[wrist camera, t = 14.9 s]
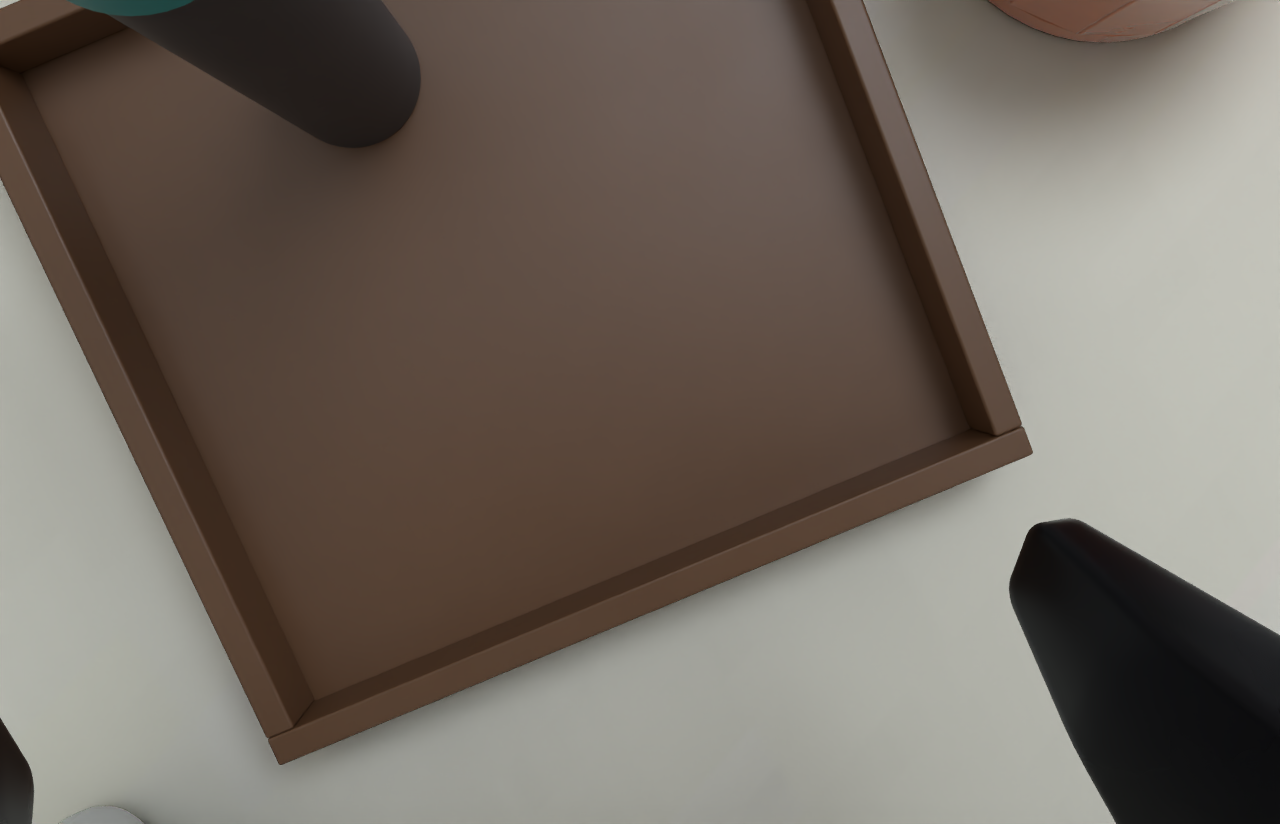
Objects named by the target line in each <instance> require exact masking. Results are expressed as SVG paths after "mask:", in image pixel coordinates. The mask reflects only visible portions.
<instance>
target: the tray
mask: <svg viewBox="0 0 1280 824" xmlns="http://www.w3.org/2000/svg"><path fill="white" fill-rule="evenodd" d="M382 2H383V3H384V4H385V6H386V7H387V9H388V10H389V11H390V13H391V14H392V15H393V17H394V18H395V19H396V21H397V22H398V24H399V25H400V26H401V28H402V29H403V30H404V32H405V33H406V35H407V36H408V38H409V39H410V41H411V43H412V44H413V46H414V48H415V51H416V54H417V57H418V61H419V65H420V74H421V83H420V91H419V96H418V99H417V103H416V105H415V107H414V110H413V112H412V114H411V115H410V117H409V118H408V120H407V121H406V122H405V123H404V125H403V126H402V127H401V128H400V129H399V130H398V131H397V132H396V133H394V134H393V135H391V136H390V137H389V138H387V139H385V140H383V141H381V142H379V143H376V144H373V145H370V146H365V147H358V148H347V147H339V146H335V145H331V144H329V143H326V142H324V141H321V140H319V139H317V138H316V137H314V136H312V135H311V134H309V133H307V132H306V131H304V130H302V129H300V128H299V127H297V126H295V125H294V124H292V123H290V122H289V121H287V120H285V119H284V118H282V117H280V116H278V115H277V114H275V113H273V112H272V111H270V110H268V109H267V108H265V107H263V106H262V105H260V104H258V103H256V102H255V101H253V100H251V99H250V98H248V97H246V96H245V95H243V94H241V93H240V92H238V91H236V90H234V89H233V88H231V87H229V86H228V85H226V84H224V83H223V82H221V81H219V80H218V79H216V78H214V77H212V76H211V75H209V74H207V73H206V72H204V71H202V70H201V69H199V68H197V67H196V66H194V65H192V64H190V63H189V62H187V61H185V60H184V59H182V58H180V57H179V56H177V55H175V54H174V53H172V52H170V51H168V50H167V49H165V48H163V47H162V46H160V45H158V44H157V43H155V42H153V41H152V40H150V39H148V38H146V37H145V36H143V35H141V34H140V33H138V32H136V31H135V30H133V29H131V28H130V27H128V26H126V25H124V24H123V23H121V22H119V21H118V20H116V19H114V18H113V17H111V16H109V15H108V14H105V13H100V12H96V11H92V10H89V9H86V8H83V7H80V6H77V5H75V4H73V3H71V2H69V1H67V0H20V1H17V2H15V3H13V4H10V5H8V6H6V7H3V8H1V9H0V178H1V180H2V182H3V184H4V187H5V189H6V191H7V193H8V195H9V197H10V199H11V201H12V203H13V205H14V208H15V210H16V212H17V214H18V216H19V218H20V220H21V222H22V224H23V226H24V229H25V231H26V233H27V235H28V237H29V239H30V241H31V243H32V245H33V247H34V250H35V252H36V254H37V256H38V258H39V260H40V262H41V264H42V266H43V269H44V271H45V273H46V275H47V277H48V279H49V281H50V283H51V285H52V287H53V290H54V292H55V294H56V296H57V298H58V300H59V302H60V304H61V306H62V308H63V311H64V313H65V315H66V317H67V319H68V321H69V323H70V325H71V327H72V329H73V332H74V334H75V336H76V338H77V340H78V342H79V344H80V346H81V348H82V351H83V353H84V355H85V357H86V359H87V361H88V363H89V365H90V367H91V369H92V372H93V374H94V376H95V378H96V380H97V382H98V384H99V386H100V388H101V390H102V393H103V395H104V397H105V399H106V401H107V403H108V405H109V407H110V409H111V411H112V414H113V416H114V418H115V420H116V422H117V424H118V426H119V428H120V430H121V433H122V435H123V437H124V439H125V441H126V443H127V445H128V447H129V449H130V451H131V454H132V456H133V458H134V460H135V462H136V464H137V466H138V468H139V470H140V472H141V475H142V477H143V479H144V481H145V483H146V485H147V487H148V489H149V491H150V493H151V496H152V498H153V500H154V502H155V504H156V506H157V508H158V510H159V512H160V514H161V517H162V519H163V521H164V523H165V525H166V527H167V529H168V531H169V533H170V536H171V538H172V540H173V542H174V544H175V546H176V548H177V550H178V552H179V554H180V557H181V559H182V561H183V563H184V565H185V567H186V569H187V571H188V573H189V575H190V578H191V580H192V582H193V584H194V586H195V588H196V590H197V592H198V594H199V596H200V599H201V601H202V603H203V605H204V607H205V609H206V611H207V613H208V615H209V618H210V620H211V622H212V624H213V626H214V628H215V630H216V632H217V634H218V636H219V639H220V641H221V643H222V645H223V647H224V649H225V651H226V653H227V655H228V657H229V660H230V662H231V664H232V666H233V668H234V670H235V672H236V674H237V676H238V678H239V681H240V683H241V685H242V687H243V689H244V691H245V693H246V695H247V697H248V700H249V702H250V704H251V706H252V708H253V710H254V712H255V714H256V716H257V718H258V721H259V723H260V725H261V727H262V729H263V731H264V733H265V735H266V737H267V738H269V739H268V742H269V744H270V746H271V748H272V750H273V753H274V755H275V757H276V759H277V761H278V763H279V764H280V765H283V764H285V763H287V762H290V761H292V760H295V759H297V758H300V757H302V756H304V755H307V754H309V753H312V752H314V751H316V750H319V749H321V748H324V747H326V746H329V745H331V744H333V743H336V742H338V741H341V740H343V739H345V738H348V737H350V736H353V735H355V734H357V733H360V732H362V731H365V730H367V729H370V728H372V727H374V726H377V725H379V724H382V723H384V722H386V721H389V720H391V719H394V718H396V717H399V716H401V715H403V714H406V713H408V712H411V711H413V710H415V709H418V708H420V707H423V706H425V705H428V704H430V703H432V702H435V701H437V700H440V699H442V698H444V697H447V696H449V695H452V694H454V693H457V692H459V691H461V690H464V689H466V688H469V687H471V686H473V685H476V684H478V683H481V682H483V681H486V680H488V679H490V678H493V677H495V676H498V675H500V674H502V673H505V672H507V671H510V670H512V669H515V668H517V667H519V666H522V665H524V664H527V663H529V662H531V661H534V660H536V659H539V658H541V657H544V656H546V655H548V654H551V653H553V652H556V651H558V650H560V649H563V648H565V647H568V646H570V645H573V644H575V643H577V642H580V641H582V640H585V639H587V638H589V637H592V636H594V635H597V634H599V633H601V632H604V631H606V630H609V629H611V628H614V627H616V626H618V625H621V624H623V623H626V622H628V621H630V620H633V619H635V618H638V617H640V616H643V615H645V614H647V613H650V612H652V611H655V610H657V609H659V608H662V607H664V606H667V605H669V604H672V603H674V602H676V601H679V600H681V599H684V598H686V597H688V596H691V595H693V594H696V593H698V592H701V591H703V590H705V589H708V588H710V587H713V586H715V585H717V584H720V583H722V582H725V581H727V580H730V579H732V578H734V577H737V576H739V575H742V574H744V573H746V572H749V571H751V570H754V569H756V568H759V567H761V566H763V565H766V564H768V563H771V562H773V561H775V560H778V559H780V558H783V557H785V556H788V555H790V554H792V553H795V552H797V551H800V550H802V549H804V548H807V547H809V546H812V545H814V544H817V543H819V542H821V541H824V540H826V539H829V538H831V537H833V536H836V535H838V534H841V533H843V532H846V531H848V530H850V529H853V528H855V527H858V526H860V525H862V524H865V523H867V522H870V521H872V520H874V519H877V518H879V517H882V516H884V515H887V514H889V513H891V512H894V511H896V510H899V509H901V508H903V507H906V506H908V505H911V504H913V503H916V502H918V501H920V500H923V499H925V498H928V497H930V496H932V495H935V494H937V493H940V492H942V491H945V490H947V489H949V488H952V487H954V486H957V485H959V484H961V483H964V482H966V481H969V480H971V479H974V478H976V477H978V476H981V475H983V474H986V473H988V472H990V471H993V470H995V469H998V468H1000V467H1003V466H1005V465H1007V464H1010V463H1012V462H1015V461H1017V460H1019V459H1022V458H1024V457H1027V456H1029V455H1031V454H1032V453H1033V451H1032V448H1031V445H1030V443H1029V440H1028V437H1027V435H1026V432H1025V429H1024V428H1023V427H1021V425H1022V424H1021V420H1020V417H1019V415H1018V412H1017V409H1016V407H1015V404H1014V401H1013V399H1012V396H1011V393H1010V391H1009V388H1008V385H1007V383H1006V380H1005V377H1004V375H1003V372H1002V369H1001V367H1000V364H999V361H998V359H997V356H996V353H995V351H994V348H993V345H992V343H991V340H990V337H989V335H988V332H987V329H986V327H985V324H984V321H983V319H982V316H981V314H980V311H979V308H978V306H977V303H976V300H975V298H974V295H973V292H972V290H971V287H970V284H969V282H968V279H967V276H966V274H965V271H964V268H963V266H962V263H961V260H960V258H959V255H958V252H957V250H956V247H955V244H954V242H953V239H952V236H951V234H950V231H949V228H948V226H947V223H946V220H945V218H944V215H943V212H942V210H941V207H940V205H939V202H938V199H937V197H936V194H935V191H934V189H933V186H932V183H931V181H930V178H929V175H928V173H927V170H926V167H925V165H924V162H923V159H922V157H921V154H920V151H919V149H918V146H917V143H916V141H915V138H914V135H913V133H912V130H911V127H910V125H909V122H908V119H907V117H906V114H905V111H904V109H903V106H902V104H901V101H900V98H899V96H898V93H897V90H896V88H895V85H894V82H893V80H892V77H891V74H890V72H889V69H888V66H887V64H886V61H885V58H884V56H883V53H882V50H881V48H880V45H879V42H878V40H877V37H876V34H875V32H874V29H873V26H872V24H871V21H870V18H869V16H868V13H867V10H866V8H865V5H864V3H863V0H382Z"/></svg>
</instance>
